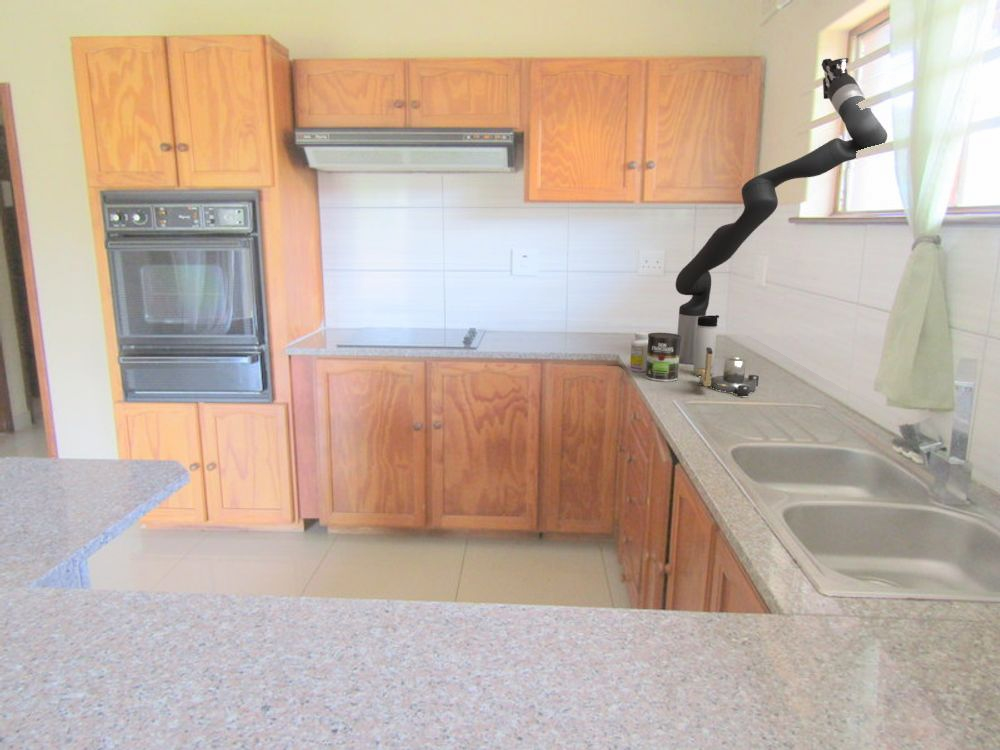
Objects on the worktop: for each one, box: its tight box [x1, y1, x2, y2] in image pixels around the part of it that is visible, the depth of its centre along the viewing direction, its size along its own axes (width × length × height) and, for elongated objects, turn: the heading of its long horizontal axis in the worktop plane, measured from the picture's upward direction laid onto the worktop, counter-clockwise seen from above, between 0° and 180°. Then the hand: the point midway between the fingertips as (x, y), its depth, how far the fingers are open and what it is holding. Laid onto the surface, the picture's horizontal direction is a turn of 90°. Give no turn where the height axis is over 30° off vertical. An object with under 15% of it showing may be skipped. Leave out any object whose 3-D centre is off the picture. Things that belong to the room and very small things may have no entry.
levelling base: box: [699, 355, 760, 397], centre depth 201 cm, size 19×16×10 cm
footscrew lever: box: [696, 348, 713, 387], centre depth 198 cm, size 17×4×10 cm, turn 167°
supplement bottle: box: [629, 331, 650, 373], centre depth 223 cm, size 7×7×13 cm
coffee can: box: [645, 332, 681, 383], centre depth 212 cm, size 10×10×14 cm
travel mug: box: [692, 314, 720, 377], centre depth 216 cm, size 6×7×20 cm
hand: (825, 61), depth 195 cm, fingers closed
